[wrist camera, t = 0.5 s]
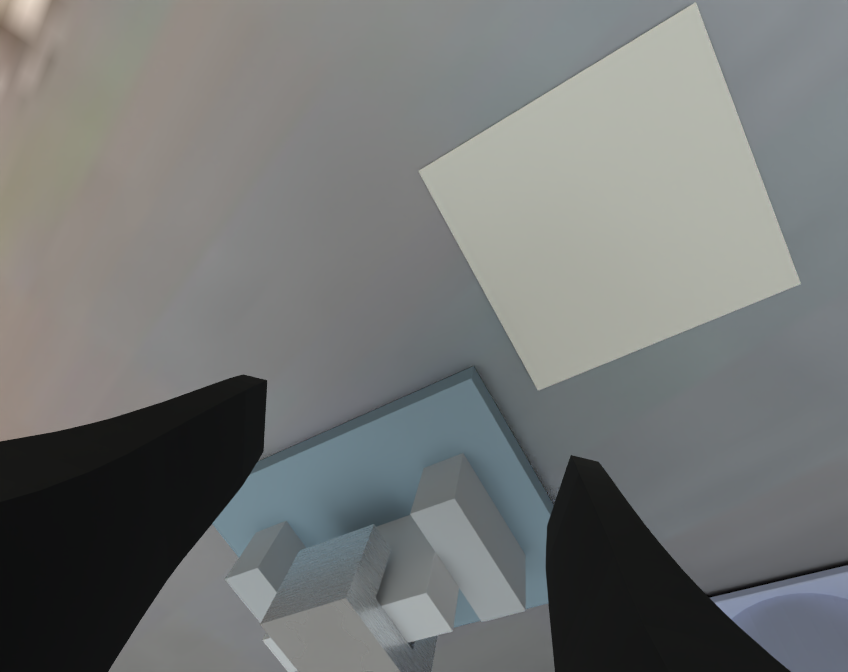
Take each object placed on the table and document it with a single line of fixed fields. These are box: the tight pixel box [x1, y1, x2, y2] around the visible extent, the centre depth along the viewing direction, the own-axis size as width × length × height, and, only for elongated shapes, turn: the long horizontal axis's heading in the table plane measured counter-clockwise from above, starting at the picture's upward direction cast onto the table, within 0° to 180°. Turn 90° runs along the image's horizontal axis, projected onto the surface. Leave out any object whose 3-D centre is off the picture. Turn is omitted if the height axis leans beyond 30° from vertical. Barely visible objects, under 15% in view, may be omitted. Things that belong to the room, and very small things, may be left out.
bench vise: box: [212, 366, 554, 672], centre depth 23 cm, size 12×16×6 cm
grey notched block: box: [260, 524, 437, 672], centre depth 21 cm, size 6×4×4 cm
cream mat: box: [418, 2, 801, 391], centre depth 19 cm, size 10×10×1 cm
